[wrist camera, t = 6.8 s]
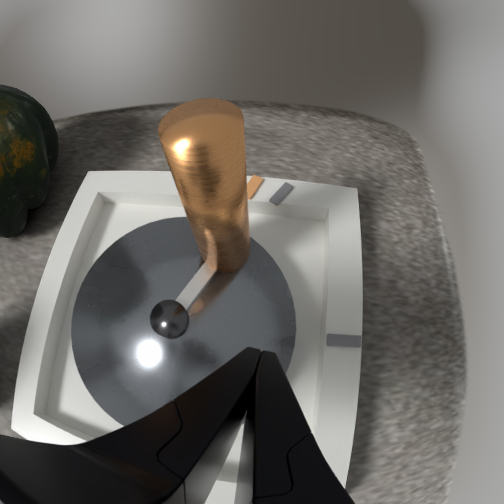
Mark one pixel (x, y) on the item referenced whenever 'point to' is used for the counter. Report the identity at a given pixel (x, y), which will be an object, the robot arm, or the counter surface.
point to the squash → (23, 157)
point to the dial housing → (280, 249)
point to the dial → (182, 279)
